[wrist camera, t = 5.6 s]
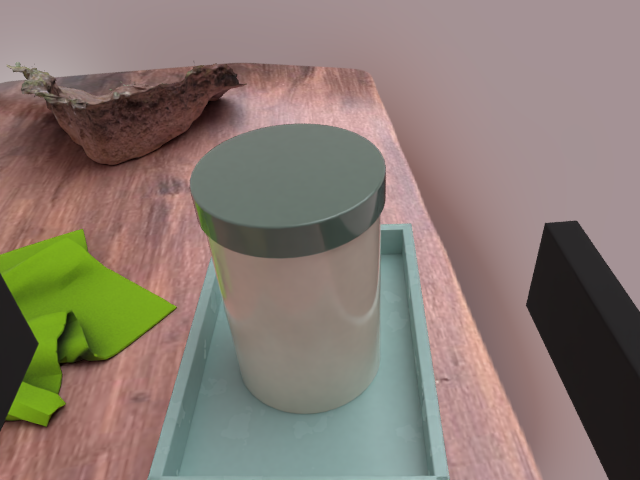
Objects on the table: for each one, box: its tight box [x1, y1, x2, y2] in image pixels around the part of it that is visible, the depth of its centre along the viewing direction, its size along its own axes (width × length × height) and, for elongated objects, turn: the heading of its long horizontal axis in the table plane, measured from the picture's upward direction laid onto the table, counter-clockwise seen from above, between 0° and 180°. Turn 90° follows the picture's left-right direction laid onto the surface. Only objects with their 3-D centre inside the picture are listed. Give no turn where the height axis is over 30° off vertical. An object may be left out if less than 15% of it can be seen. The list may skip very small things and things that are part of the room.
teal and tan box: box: [147, 224, 450, 480], centre depth 31 cm, size 17×12×8 cm
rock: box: [7, 62, 246, 165], centre depth 63 cm, size 26×22×10 cm
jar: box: [190, 124, 386, 414], centre depth 27 cm, size 8×8×12 cm
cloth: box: [0, 229, 177, 426], centre depth 41 cm, size 20×22×2 cm
